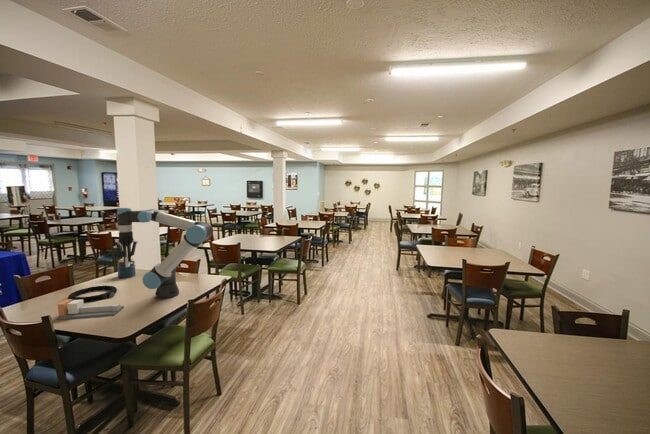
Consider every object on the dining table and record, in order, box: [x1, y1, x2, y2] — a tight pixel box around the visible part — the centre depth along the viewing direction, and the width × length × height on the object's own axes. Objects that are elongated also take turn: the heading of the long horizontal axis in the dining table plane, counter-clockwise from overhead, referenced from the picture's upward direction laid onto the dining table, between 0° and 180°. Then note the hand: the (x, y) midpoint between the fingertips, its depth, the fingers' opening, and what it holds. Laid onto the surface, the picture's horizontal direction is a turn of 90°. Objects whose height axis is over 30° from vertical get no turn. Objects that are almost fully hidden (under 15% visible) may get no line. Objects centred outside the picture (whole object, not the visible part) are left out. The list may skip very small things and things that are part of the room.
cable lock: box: [67, 285, 118, 303], centre depth 208 cm, size 28×4×30 cm
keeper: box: [67, 299, 85, 314], centre depth 177 cm, size 5×6×6 cm
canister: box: [116, 257, 137, 279], centre depth 253 cm, size 13×13×18 cm
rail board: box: [56, 298, 125, 321], centre depth 179 cm, size 30×12×8 cm, turn 101°
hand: (127, 266), depth 194 cm, fingers closed
